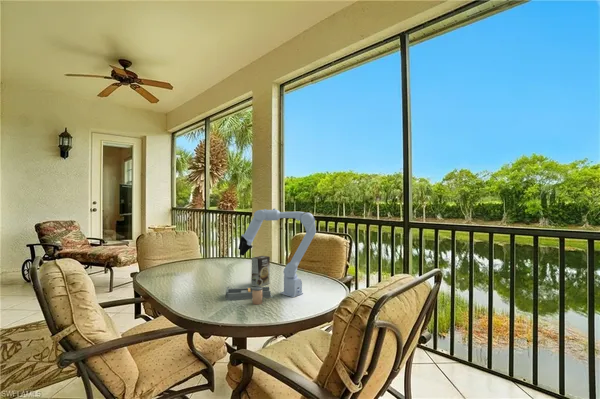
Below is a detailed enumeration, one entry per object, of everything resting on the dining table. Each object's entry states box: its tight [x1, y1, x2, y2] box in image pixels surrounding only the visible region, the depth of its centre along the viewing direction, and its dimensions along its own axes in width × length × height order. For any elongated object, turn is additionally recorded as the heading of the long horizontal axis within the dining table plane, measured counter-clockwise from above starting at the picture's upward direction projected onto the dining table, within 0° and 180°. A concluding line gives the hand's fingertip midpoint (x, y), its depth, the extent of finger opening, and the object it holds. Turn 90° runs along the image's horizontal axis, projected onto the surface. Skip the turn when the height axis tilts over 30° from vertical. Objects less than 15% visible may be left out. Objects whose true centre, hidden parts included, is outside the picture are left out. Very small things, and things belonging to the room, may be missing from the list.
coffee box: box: [250, 255, 271, 287], centre depth 173 cm, size 9×6×16 cm
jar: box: [251, 286, 264, 306], centre depth 143 cm, size 5×5×7 cm
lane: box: [225, 286, 273, 301], centre depth 153 cm, size 23×9×4 cm, turn 101°
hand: (240, 252), depth 160 cm, fingers open, 7 cm apart
